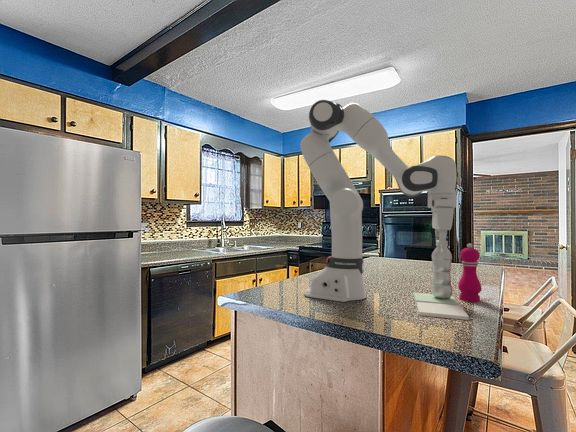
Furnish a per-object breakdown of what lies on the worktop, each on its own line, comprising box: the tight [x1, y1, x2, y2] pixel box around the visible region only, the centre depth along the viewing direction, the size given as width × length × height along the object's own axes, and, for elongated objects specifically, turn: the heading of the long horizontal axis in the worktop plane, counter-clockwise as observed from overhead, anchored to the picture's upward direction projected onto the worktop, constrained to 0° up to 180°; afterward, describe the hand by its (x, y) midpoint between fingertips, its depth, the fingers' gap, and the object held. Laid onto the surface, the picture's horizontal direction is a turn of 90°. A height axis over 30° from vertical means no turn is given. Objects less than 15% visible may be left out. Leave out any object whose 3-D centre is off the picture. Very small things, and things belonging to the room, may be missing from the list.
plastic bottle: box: [430, 239, 453, 299], centre depth 109 cm, size 6×7×20 cm
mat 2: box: [415, 302, 470, 321], centre depth 96 cm, size 13×12×1 cm
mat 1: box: [413, 292, 460, 306], centre depth 109 cm, size 13×12×1 cm
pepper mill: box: [457, 243, 483, 303], centre depth 111 cm, size 7×7×20 cm
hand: (440, 242), depth 109 cm, fingers open, 8 cm apart
